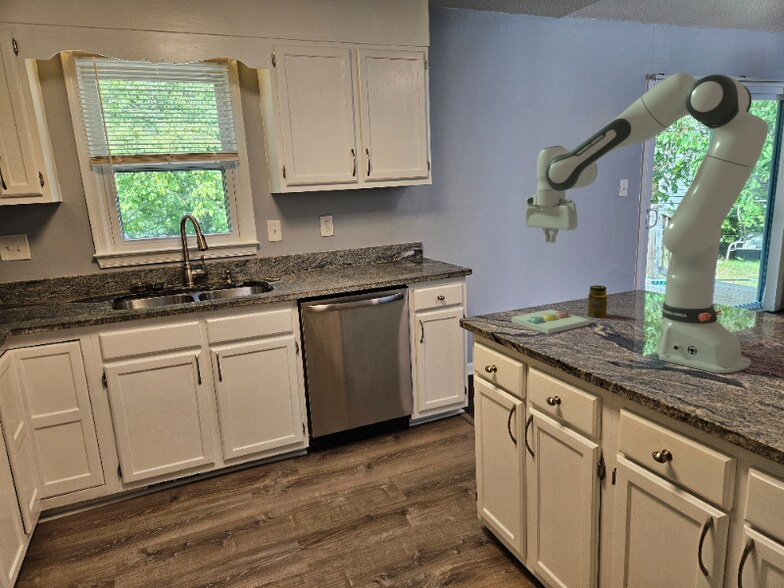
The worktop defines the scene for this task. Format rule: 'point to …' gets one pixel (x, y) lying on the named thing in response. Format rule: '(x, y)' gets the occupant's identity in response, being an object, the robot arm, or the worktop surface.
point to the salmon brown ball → (562, 315)
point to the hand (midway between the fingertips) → (550, 242)
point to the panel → (550, 322)
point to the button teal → (537, 320)
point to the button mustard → (549, 317)
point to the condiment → (597, 302)
